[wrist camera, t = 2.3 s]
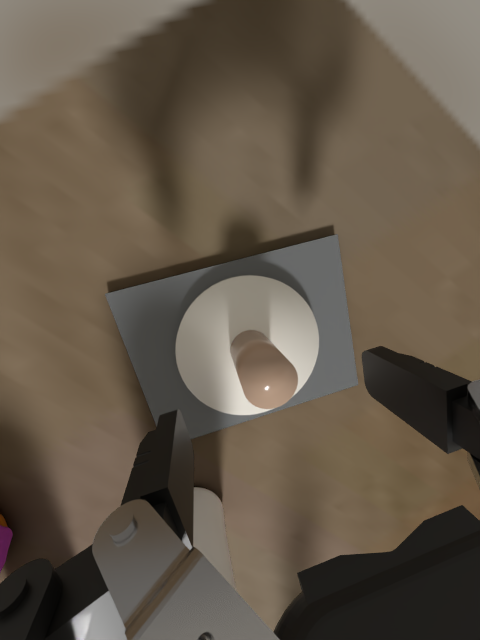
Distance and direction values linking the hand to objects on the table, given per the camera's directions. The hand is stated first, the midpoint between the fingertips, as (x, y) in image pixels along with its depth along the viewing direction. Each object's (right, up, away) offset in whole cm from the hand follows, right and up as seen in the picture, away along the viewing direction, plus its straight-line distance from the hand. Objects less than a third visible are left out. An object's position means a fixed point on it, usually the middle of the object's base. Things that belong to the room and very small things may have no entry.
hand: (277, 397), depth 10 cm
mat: (-1, +2, +8) cm, 8 cm away
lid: (-1, +1, +8) cm, 8 cm away
